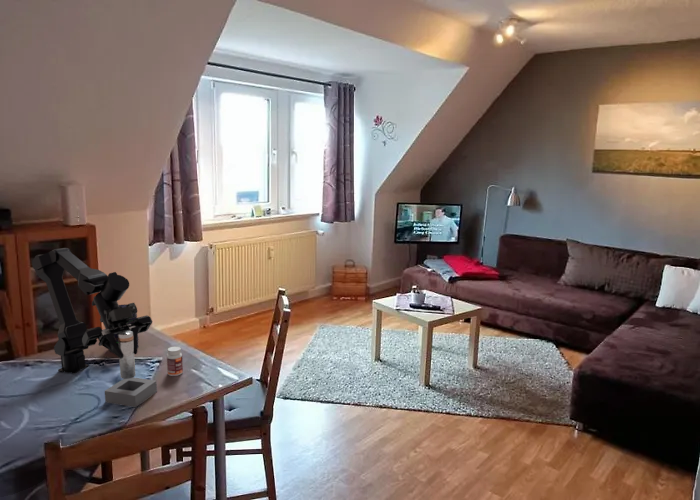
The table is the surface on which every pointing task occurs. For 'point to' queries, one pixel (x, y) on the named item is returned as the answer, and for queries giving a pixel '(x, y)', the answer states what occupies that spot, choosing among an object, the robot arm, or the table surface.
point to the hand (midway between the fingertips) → (129, 355)
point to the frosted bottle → (126, 354)
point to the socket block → (130, 391)
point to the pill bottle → (174, 361)
